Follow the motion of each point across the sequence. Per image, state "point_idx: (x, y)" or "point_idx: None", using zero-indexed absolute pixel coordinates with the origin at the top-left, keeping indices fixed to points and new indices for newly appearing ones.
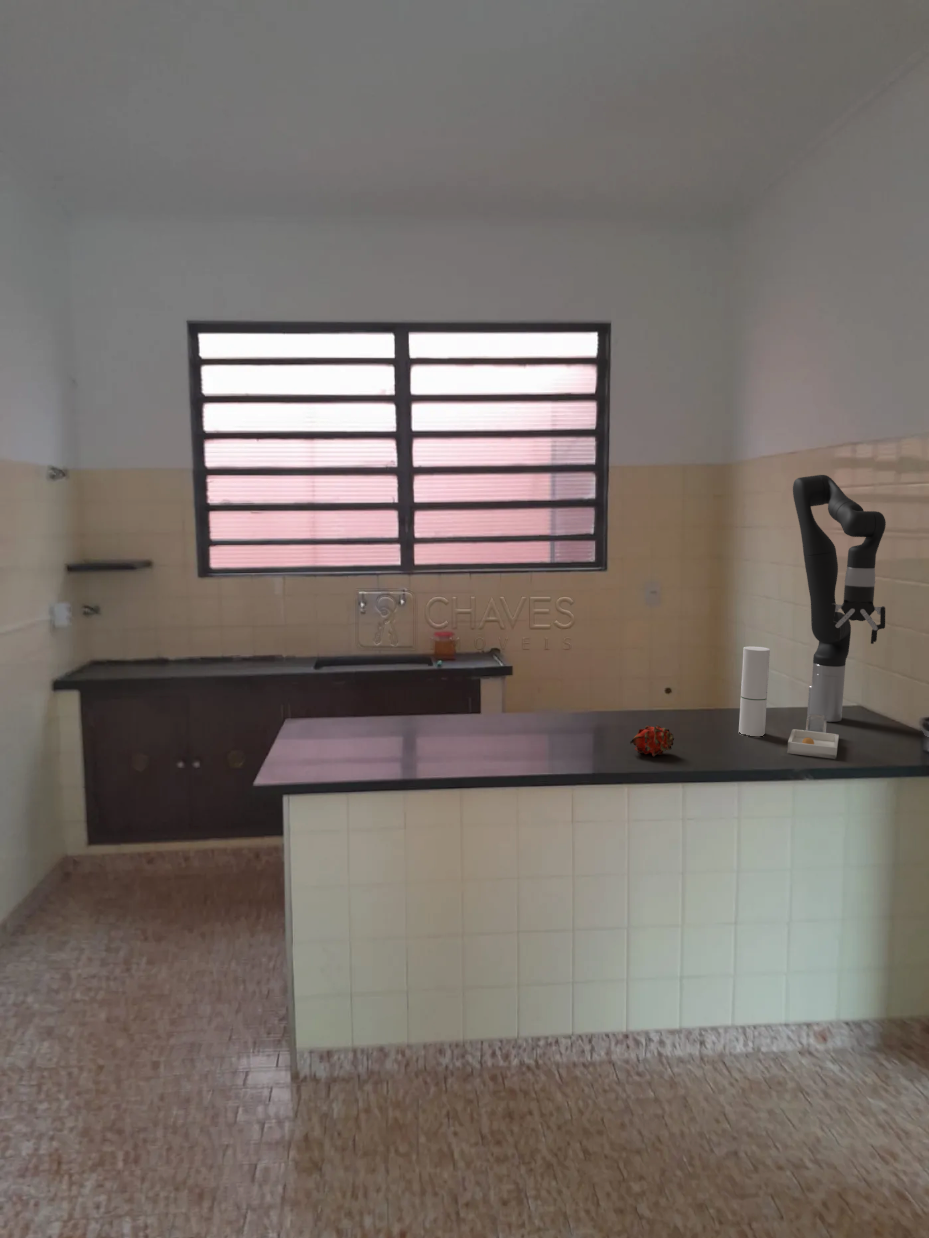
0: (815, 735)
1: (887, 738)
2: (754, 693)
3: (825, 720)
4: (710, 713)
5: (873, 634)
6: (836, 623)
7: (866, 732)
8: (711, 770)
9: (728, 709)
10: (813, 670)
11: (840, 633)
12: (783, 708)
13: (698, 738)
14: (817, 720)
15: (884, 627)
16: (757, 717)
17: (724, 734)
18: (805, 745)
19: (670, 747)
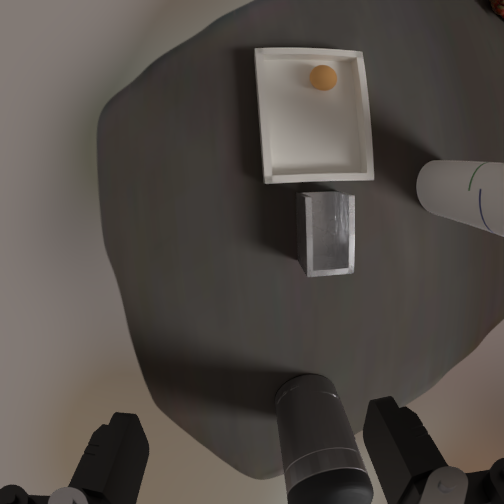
0: (318, 173)
1: (169, 306)
2: (499, 163)
3: (307, 212)
4: (492, 308)
5: (97, 463)
6: (460, 501)
7: (216, 335)
8: None
9: (464, 355)
10: (362, 461)
11: (377, 472)
12: None
13: (494, 110)
14: (326, 264)
15: (3, 489)
16: (453, 163)
17: (473, 158)
18: (324, 49)
19: (492, 8)
